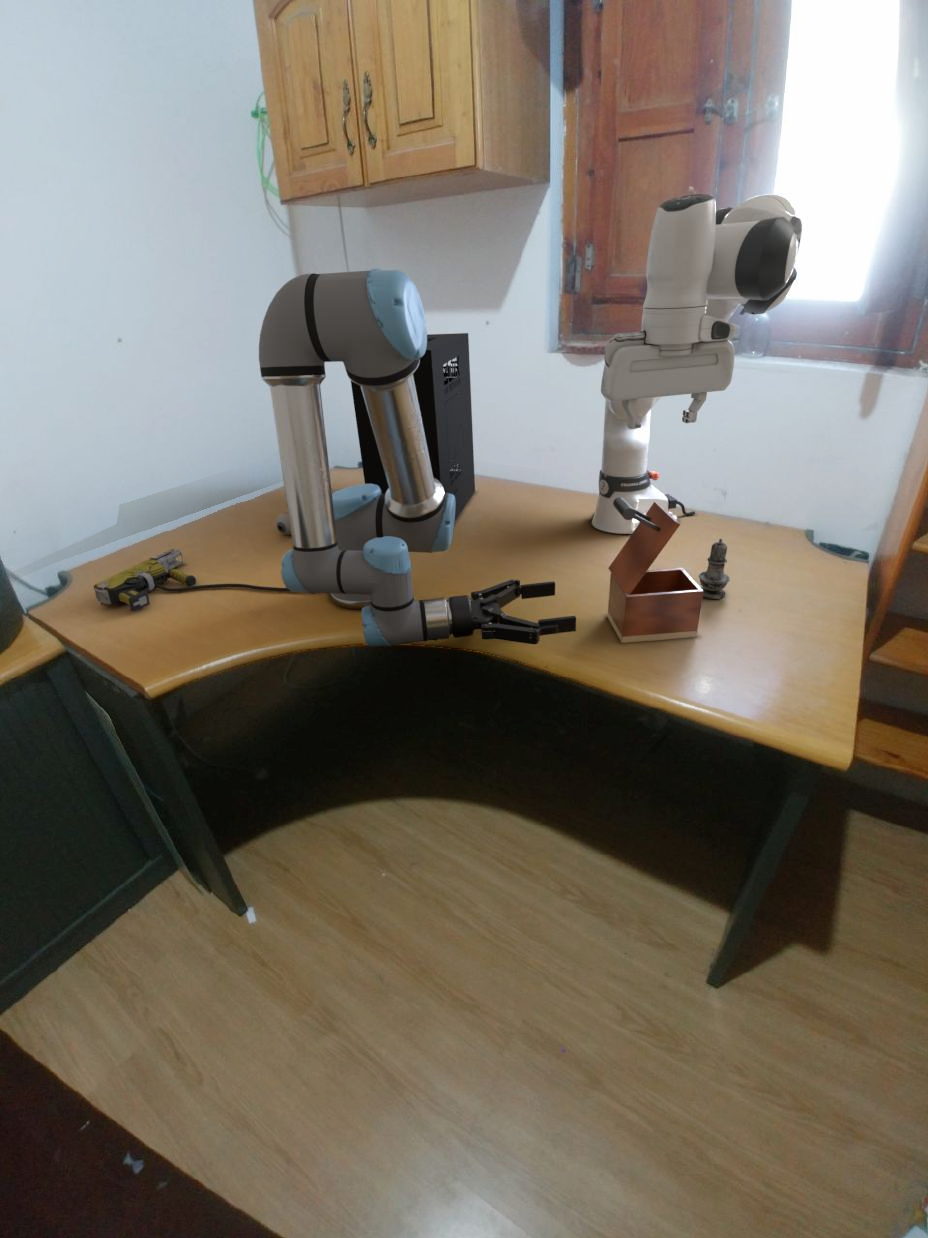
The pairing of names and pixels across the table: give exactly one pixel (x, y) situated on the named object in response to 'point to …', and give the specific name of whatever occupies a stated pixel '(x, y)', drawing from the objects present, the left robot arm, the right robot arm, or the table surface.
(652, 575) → the chest
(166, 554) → the toy gun
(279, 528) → the eyeball
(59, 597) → the table surface
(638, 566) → the lid
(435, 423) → the cardboard box
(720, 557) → the grey chess piece
